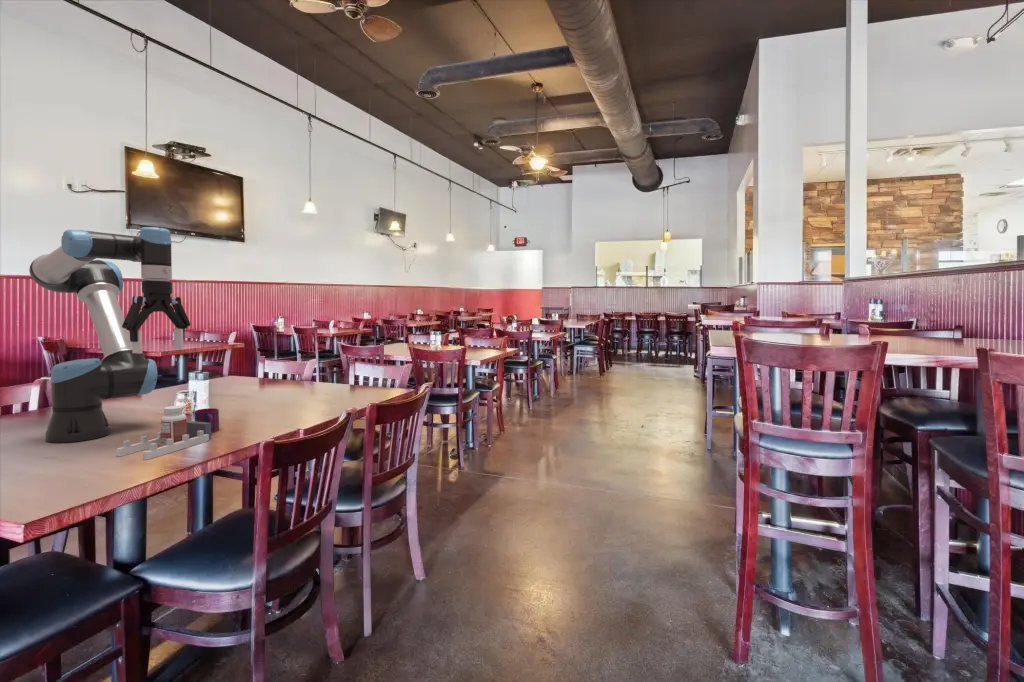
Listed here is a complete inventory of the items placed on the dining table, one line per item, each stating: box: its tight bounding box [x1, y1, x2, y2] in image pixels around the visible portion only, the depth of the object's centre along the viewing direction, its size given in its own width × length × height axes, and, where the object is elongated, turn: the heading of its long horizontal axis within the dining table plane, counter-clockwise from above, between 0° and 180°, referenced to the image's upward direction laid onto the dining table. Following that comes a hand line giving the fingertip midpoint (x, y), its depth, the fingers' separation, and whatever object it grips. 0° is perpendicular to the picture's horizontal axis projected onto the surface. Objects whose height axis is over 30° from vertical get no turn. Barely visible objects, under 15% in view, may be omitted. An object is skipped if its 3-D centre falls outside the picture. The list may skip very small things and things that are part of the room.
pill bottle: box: [160, 405, 187, 446], centre depth 150 cm, size 6×6×11 cm
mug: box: [194, 407, 220, 434], centre depth 166 cm, size 7×10×7 cm
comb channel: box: [115, 420, 212, 461], centre depth 148 cm, size 10×22×5 cm, turn 165°
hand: (159, 351), depth 155 cm, fingers open, 13 cm apart
